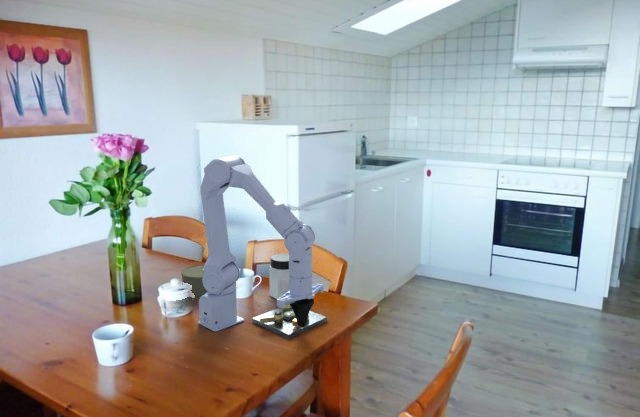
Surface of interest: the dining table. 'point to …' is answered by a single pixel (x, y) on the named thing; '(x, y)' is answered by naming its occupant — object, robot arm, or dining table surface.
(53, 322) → the dining table surface
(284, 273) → the jar
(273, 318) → the left footscrew
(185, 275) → the can
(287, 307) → the back footscrew
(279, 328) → the plate
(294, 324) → the front footscrew
